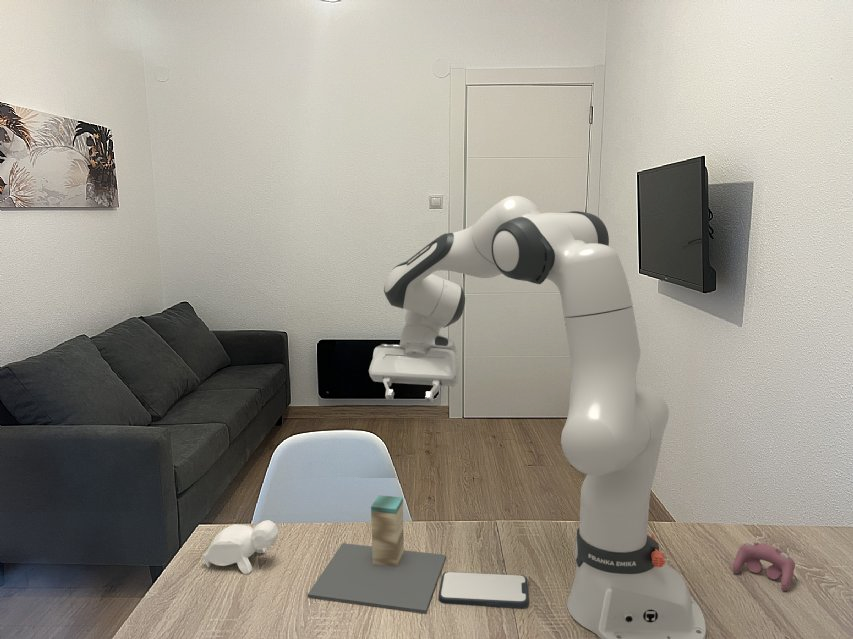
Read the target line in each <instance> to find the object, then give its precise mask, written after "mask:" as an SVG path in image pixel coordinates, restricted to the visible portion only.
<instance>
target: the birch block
mask: <svg viewBox="0 0 853 639" xmlns="http://www.w3.org/2000/svg"><path fill="white" fill-rule="evenodd" d="M370 512H371V515H370V516H371V518H370V519H371V546H372V557H373V564H380V565H389V566H398V564H399V562H400V560H401V558H402V556H403V554H404V550H405V546H404V544H405V543H404V542H405V541H404V537H405V536H404V497H401V496H391V495H378V496H377V497H376V499H375V500H374V501H373V503H372V504H371V507H370Z"/></svg>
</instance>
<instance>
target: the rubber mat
mask: <svg viewBox="0 0 853 639" xmlns="http://www.w3.org/2000/svg"><path fill="white" fill-rule="evenodd" d="M446 559H447V555H446V554H440V553H431V552H424V551H422V552H421V551H415V550H405V549H404V554H403V556H402V558H401V560H400V562H399V564H398V566H389V565H380V564H373V557H372V545H371V546H369V545H365V544H364V545H363V544H355V543H347V542H342V543H341V544H340V546H339V548H338V549H337V550H336V551H335V553H334V555H333V556H332V557H331V560H330V561H329V562H328V563H327V565H326V567H324V570H323V571H322V572H321V574H320V576H319V577H318V578H317V580H316V581H315V582H314V584H313V586H312V587H311V589H310V590H309V592H308V593H307V598H310V599H316V600H317V599H318V600H323V599H324V600H325V601H331V600H332V602H338V601H340V602H339V603H345V602H349V603H348V604H352V603H354V605H362V606H368V607H376V608H382V609H383V608H384V609H391V610H396V609H398V611H404V612H412V613H419V614H427V612H428V609H429V606H430V603H431V601H432V597H433V594H434V593H435V589H436V587H437V584H438V581H439V578H440V577H441V576H440V575H441V574H442V570H443V568H444V565H445V561H446Z"/></svg>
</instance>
